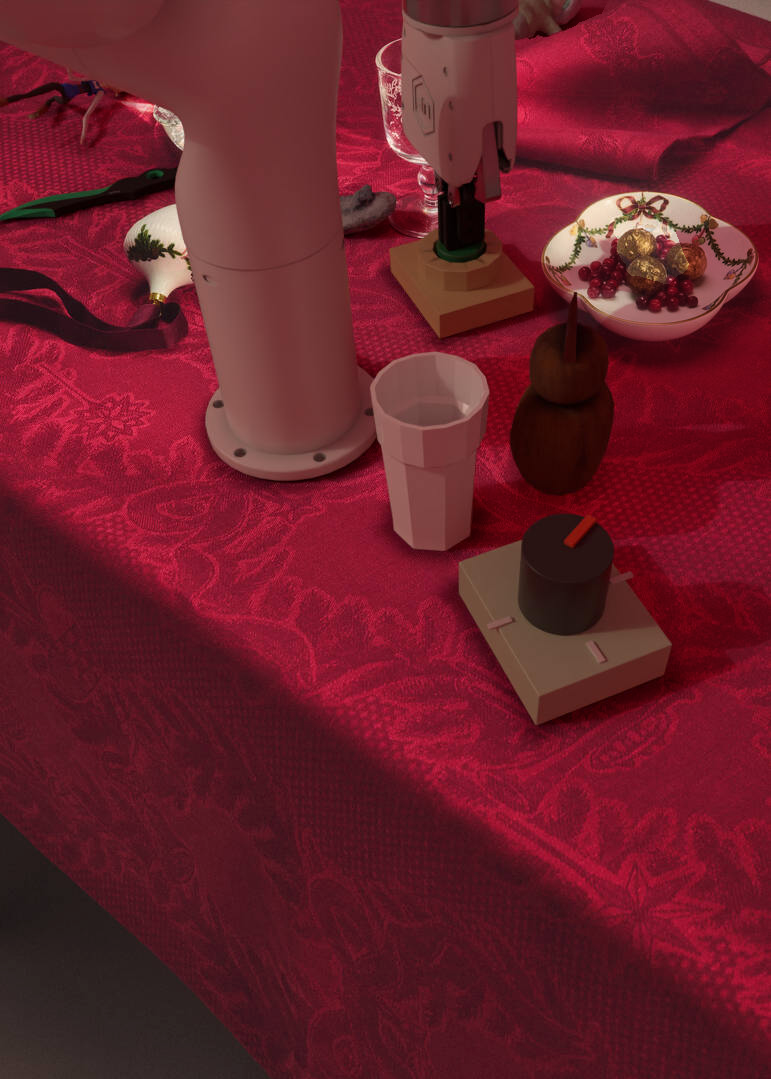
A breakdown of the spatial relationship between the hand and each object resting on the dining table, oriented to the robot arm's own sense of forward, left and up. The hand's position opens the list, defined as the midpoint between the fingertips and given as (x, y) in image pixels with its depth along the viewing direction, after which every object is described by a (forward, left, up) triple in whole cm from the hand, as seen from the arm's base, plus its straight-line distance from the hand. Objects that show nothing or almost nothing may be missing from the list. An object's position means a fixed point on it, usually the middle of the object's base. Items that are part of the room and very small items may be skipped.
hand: (461, 241), depth 77 cm
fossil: (-11, -6, -3) cm, 13 cm away
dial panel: (+33, -9, -4) cm, 35 cm away
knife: (-32, -22, -4) cm, 39 cm away
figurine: (-50, -14, -1) cm, 52 cm away
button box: (0, 0, -4) cm, 4 cm away
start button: (0, 0, -2) cm, 2 cm away
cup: (+22, -12, -5) cm, 26 cm away
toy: (-37, +20, -3) cm, 42 cm away
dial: (+33, -9, -1) cm, 34 cm away
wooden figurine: (+22, -3, -5) cm, 22 cm away
